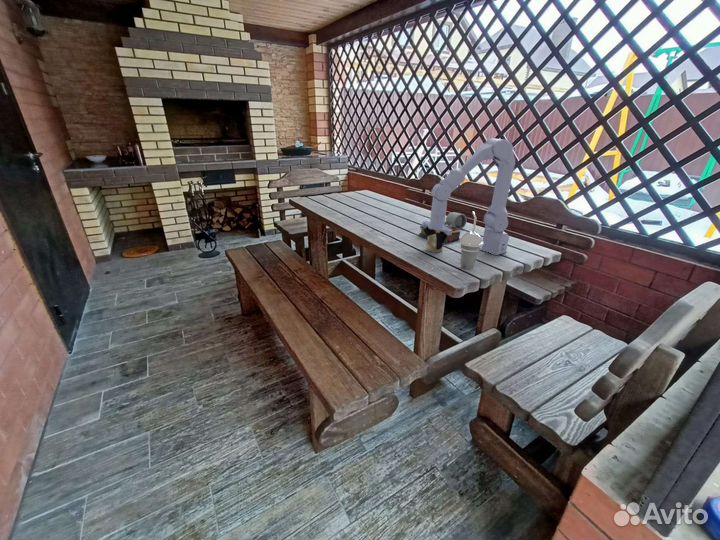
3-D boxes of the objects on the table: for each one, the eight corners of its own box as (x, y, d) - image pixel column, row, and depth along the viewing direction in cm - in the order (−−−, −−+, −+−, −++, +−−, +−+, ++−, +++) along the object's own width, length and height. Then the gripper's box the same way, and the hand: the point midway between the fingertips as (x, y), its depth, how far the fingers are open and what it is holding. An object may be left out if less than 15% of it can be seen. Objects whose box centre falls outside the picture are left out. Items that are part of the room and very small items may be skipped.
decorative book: (437, 231, 161) (438, 222, 159) (461, 241, 149) (462, 231, 147) (419, 235, 156) (419, 225, 154) (442, 245, 143) (443, 234, 141)
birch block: (441, 250, 137) (443, 237, 134) (434, 252, 134) (435, 239, 132) (434, 247, 140) (435, 234, 138) (426, 249, 138) (427, 235, 135)
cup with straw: (451, 268, 121) (459, 215, 112) (459, 260, 127) (467, 210, 119) (475, 274, 116) (485, 219, 108) (482, 266, 123) (491, 213, 115)
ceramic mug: (455, 224, 173) (457, 209, 170) (465, 228, 166) (468, 213, 163) (438, 226, 169) (440, 212, 166) (448, 231, 162) (450, 216, 159)
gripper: (418, 212, 134) (415, 243, 140) (444, 220, 123) (440, 254, 129) (430, 210, 138) (427, 240, 144) (457, 218, 127) (452, 250, 133)
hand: (434, 246), depth 137 cm, fingers closed on birch block, 4 cm apart
